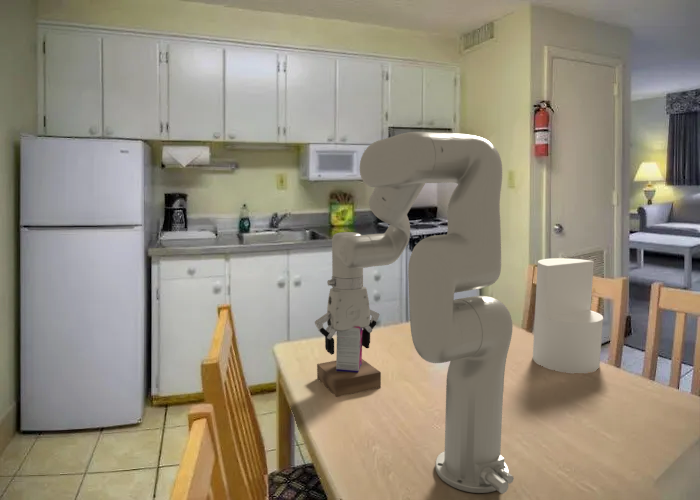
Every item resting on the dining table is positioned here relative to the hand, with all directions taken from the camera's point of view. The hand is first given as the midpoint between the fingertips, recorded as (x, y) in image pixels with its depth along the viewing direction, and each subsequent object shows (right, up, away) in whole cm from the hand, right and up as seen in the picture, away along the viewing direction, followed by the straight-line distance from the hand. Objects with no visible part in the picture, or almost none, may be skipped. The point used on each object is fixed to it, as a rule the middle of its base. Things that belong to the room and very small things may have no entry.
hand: (348, 349), depth 124 cm
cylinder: (+61, -7, +15) cm, 63 cm away
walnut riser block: (0, -9, +1) cm, 9 cm away
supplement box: (0, -5, +1) cm, 5 cm away
